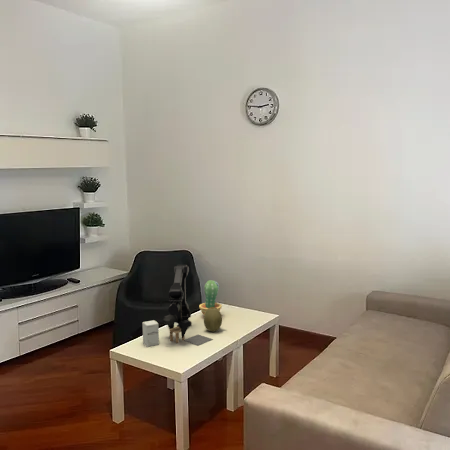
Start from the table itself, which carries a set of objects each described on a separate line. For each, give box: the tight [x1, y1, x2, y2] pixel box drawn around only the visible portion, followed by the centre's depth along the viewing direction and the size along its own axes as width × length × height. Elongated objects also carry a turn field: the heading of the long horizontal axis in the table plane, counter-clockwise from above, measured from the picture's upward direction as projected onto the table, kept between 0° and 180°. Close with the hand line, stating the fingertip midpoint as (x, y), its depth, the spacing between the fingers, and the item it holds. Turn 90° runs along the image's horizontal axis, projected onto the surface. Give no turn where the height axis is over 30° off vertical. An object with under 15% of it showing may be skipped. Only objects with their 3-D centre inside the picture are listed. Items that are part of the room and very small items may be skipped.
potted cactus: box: [198, 279, 223, 316], centre depth 315 cm, size 15×15×25 cm
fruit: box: [203, 307, 223, 332], centre depth 290 cm, size 11×11×15 cm
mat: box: [183, 334, 214, 347], centre depth 275 cm, size 12×12×1 cm
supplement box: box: [142, 319, 160, 348], centre depth 270 cm, size 7×7×13 cm
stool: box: [169, 326, 186, 344], centre depth 275 cm, size 6×6×7 cm
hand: (177, 335), depth 275 cm, fingers open, 9 cm apart
